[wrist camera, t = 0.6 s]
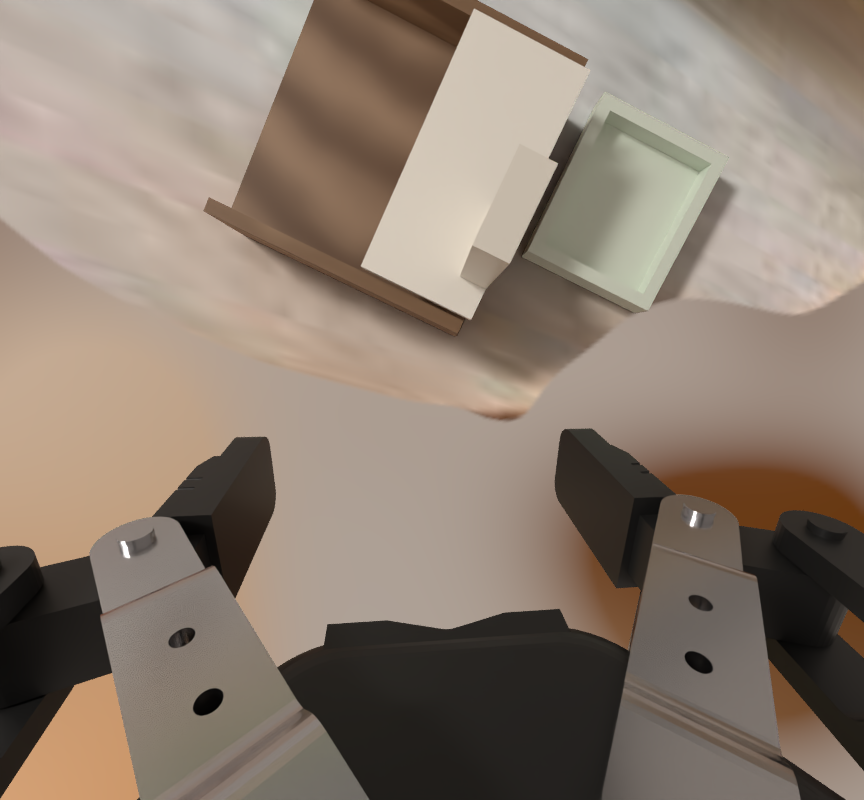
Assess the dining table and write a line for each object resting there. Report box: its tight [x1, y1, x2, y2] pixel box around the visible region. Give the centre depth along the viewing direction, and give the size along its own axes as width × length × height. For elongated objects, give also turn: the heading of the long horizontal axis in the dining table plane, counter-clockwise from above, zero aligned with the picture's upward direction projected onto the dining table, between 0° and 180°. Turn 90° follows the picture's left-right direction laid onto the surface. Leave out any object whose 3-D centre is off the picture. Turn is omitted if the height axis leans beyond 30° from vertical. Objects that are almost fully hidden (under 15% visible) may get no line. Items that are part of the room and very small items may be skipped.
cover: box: [361, 9, 590, 320], centre depth 24 cm, size 18×8×10 cm, turn 155°
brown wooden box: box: [204, 0, 588, 336], centre depth 32 cm, size 20×20×6 cm
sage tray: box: [522, 92, 729, 313], centre depth 35 cm, size 13×11×2 cm
